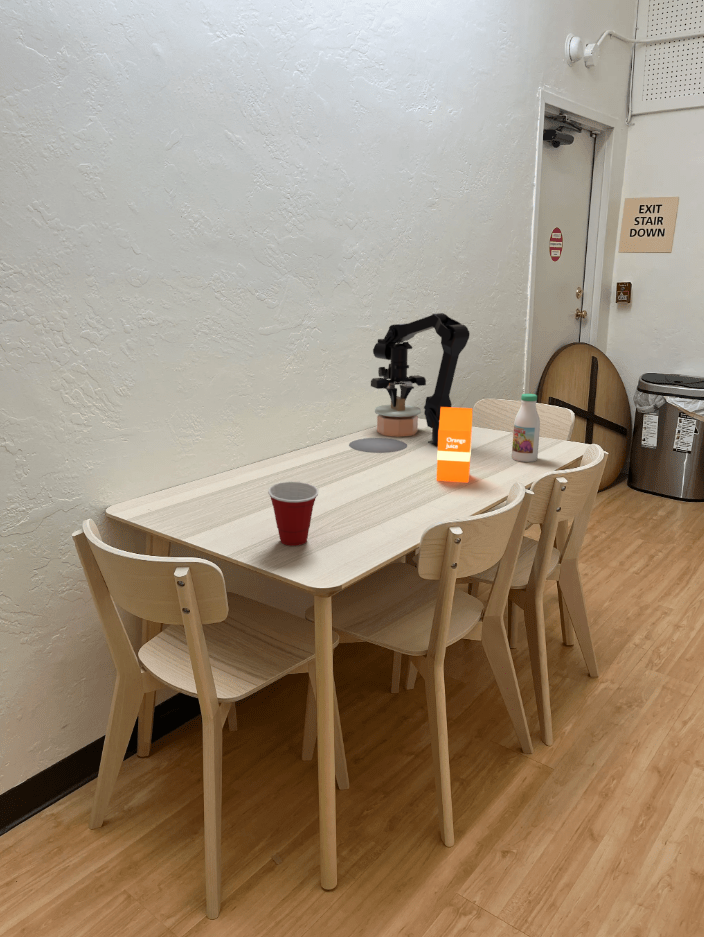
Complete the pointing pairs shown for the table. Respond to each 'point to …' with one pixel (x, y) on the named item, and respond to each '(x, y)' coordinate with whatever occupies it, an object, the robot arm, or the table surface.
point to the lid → (398, 409)
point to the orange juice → (454, 444)
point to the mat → (378, 445)
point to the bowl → (397, 425)
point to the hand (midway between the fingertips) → (397, 406)
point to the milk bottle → (526, 430)
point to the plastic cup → (293, 510)
